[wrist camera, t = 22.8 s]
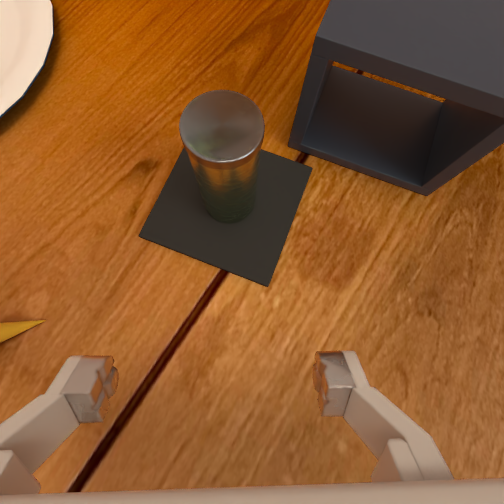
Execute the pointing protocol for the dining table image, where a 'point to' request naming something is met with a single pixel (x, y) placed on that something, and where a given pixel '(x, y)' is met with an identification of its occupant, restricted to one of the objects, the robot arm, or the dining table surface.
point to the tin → (224, 151)
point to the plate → (22, 46)
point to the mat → (236, 234)
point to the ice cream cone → (15, 328)
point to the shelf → (402, 101)
